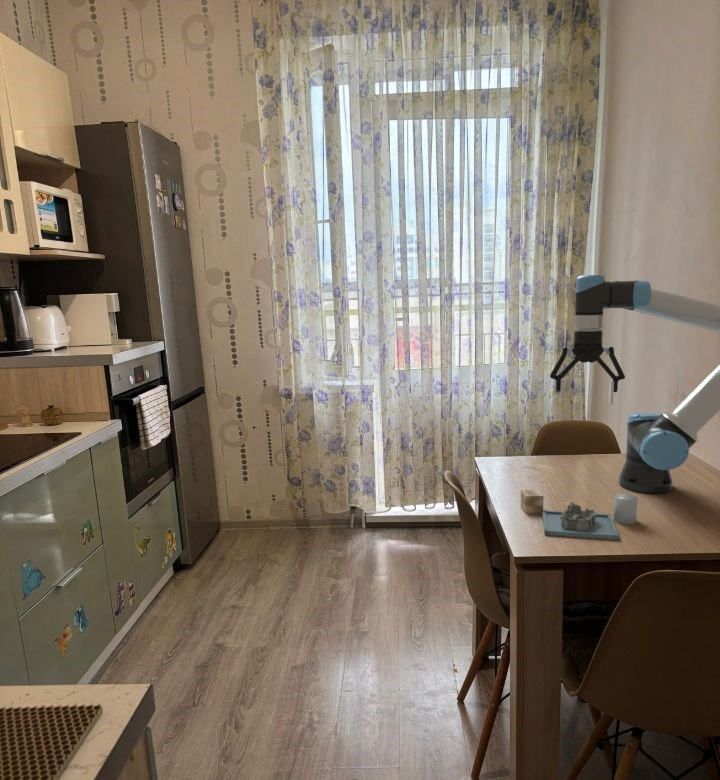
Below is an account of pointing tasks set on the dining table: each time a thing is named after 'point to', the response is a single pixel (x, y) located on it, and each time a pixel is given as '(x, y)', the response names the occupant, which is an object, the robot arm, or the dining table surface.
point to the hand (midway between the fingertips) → (585, 402)
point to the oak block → (532, 501)
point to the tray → (598, 530)
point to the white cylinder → (625, 509)
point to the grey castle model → (577, 517)
